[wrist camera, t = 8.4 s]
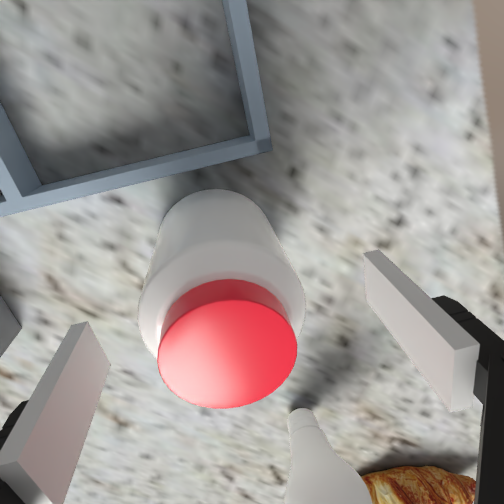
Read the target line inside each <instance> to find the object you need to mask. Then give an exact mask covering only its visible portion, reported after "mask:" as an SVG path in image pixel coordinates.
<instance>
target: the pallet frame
mask: <svg viewBox="0 0 504 504" xmlns="http://www.w3.org/2000/svg"><path fill="white" fill-rule="evenodd" d="M222 2H223V7H224V12H225V17H226V22H227V27H228V32H229V37H230V41H231V46H232V51H233V56H234V61H235V66H236V71H237V76H238V81H239V85H240V90H241V95H242V100H243V105H244V110H245V115H246V120H247V125H248V129H249V134H250V135H248V136H244V137H240V138H236V139H231V140H227V141H223V142H219V143H215V144H211V145H207V146H203V147H198V148H194V149H190V150H186V151H182V152H178V153H174V154H170V155H165V156H161V157H157V158H153V159H149V160H145V161H141V162H137V163H132V164H128V165H124V166H120V167H116V168H112V169H108V170H104V171H99V172H95V173H91V174H87V175H83V176H79V177H75V178H71V179H66V180H62V181H58V182H54V183H50V184H46V185H41V183H40V181H39V179H38V177H37V175H36V173H35V171H34V168H33V166H32V164H31V162H30V160H29V158H28V156H27V154H26V152H25V150H24V148H23V146H22V144H21V142H20V140H19V138H18V136H17V134H16V132H15V130H14V128H13V126H12V124H11V122H10V120H9V118H8V116H7V114H6V112H5V110H4V108H3V106H2V104H1V102H0V190H1V191H2V193H3V195H0V217H3V216H7V215H11V214H15V213H19V212H23V211H27V210H31V209H35V208H39V207H43V206H48V205H52V204H56V203H60V202H64V201H68V200H72V199H76V198H80V197H84V196H88V195H93V194H97V193H101V192H105V191H109V190H113V189H117V188H121V187H125V186H129V185H133V184H137V183H142V182H146V181H150V180H154V179H158V178H162V177H166V176H170V175H174V174H178V173H182V172H187V171H191V170H195V169H199V168H203V167H207V166H211V165H215V164H219V163H223V162H227V161H232V160H236V159H240V158H244V157H248V156H252V155H256V154H260V153H264V152H268V151H272V150H273V148H272V143H271V137H270V132H269V126H268V120H267V115H266V109H265V104H264V98H263V92H262V87H261V81H260V76H259V70H258V64H257V59H256V53H255V48H254V42H253V37H252V31H251V25H250V20H249V14H248V9H247V3H246V0H222Z"/></svg>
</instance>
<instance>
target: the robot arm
mask: <svg viewBox="0 0 504 504" xmlns="http://www.w3.org/2000/svg"><path fill="white" fill-rule="evenodd" d="M363 262H364V276H365V290H366V301H367V303H368V304H369V305H370V307H371V308H372V309H373V311H374V312H375V313H376V315H377V316H378V317H379V319H380V320H381V321H382V323H383V324H384V325H385V327H386V328H387V329H388V331H389V332H390V333H391V335H392V336H393V337H394V339H395V340H396V341H397V343H398V344H399V345H400V347H401V348H402V349H403V350H404V352H405V353H406V354H407V356H408V357H409V358H410V360H411V361H412V362H413V364H414V365H415V366H416V368H417V369H418V370H419V372H420V373H421V374H422V376H423V377H424V378H425V380H426V381H427V382H428V384H429V385H430V386H431V388H432V389H433V390H434V392H435V393H436V394H437V396H438V397H439V398H440V400H441V401H442V402H443V404H444V405H445V406H446V408H447V409H448V410H449V412H450V413H451V412H455V411H459V410H463V409H467V408H471V407H473V400H474V395H475V396H476V397H477V398H478V399H479V400H480V402H481V403H482V404H483V410H482V417H481V425H480V426H481V432H480V443H479V454H478V466H477V477H476V488H475V499H474V504H504V340H502V339H501V338H500V337H499V336H498V335H496V334H495V333H494V332H493V331H492V330H491V329H489V328H488V327H487V326H486V325H485V324H483V323H482V322H481V321H480V320H479V319H476V317H475V316H474V315H473V314H472V313H471V312H468V310H467V309H466V308H465V307H463V306H462V305H461V304H460V303H459V302H458V301H455V300H453V299H451V298H448V297H446V296H440V297H436V298H432V299H431V298H430V297H429V296H428V295H427V294H426V293H425V292H424V291H423V290H422V289H420V288H419V287H418V286H417V285H416V284H415V283H414V282H413V281H412V280H411V279H410V278H409V277H408V276H407V275H405V274H404V273H403V272H402V271H401V270H400V269H399V268H398V267H397V266H396V265H395V264H394V263H393V262H392V261H390V260H389V259H388V258H387V257H386V256H385V255H384V254H383V253H382V252H381V251H380V250H379V249H378V250H374V251H370V252H366V253H363ZM110 366H111V364H110V362H109V360H108V358H107V356H106V355H105V353H104V351H103V349H102V347H101V345H100V343H99V341H98V340H97V338H96V336H95V334H94V332H93V330H92V328H91V326H90V325H89V323H88V321H87V322H83V323H79V324H75V325H71V327H70V329H69V330H68V332H67V334H66V336H65V338H64V339H63V341H62V343H61V345H60V346H59V348H58V350H57V352H56V353H55V355H54V357H53V359H52V360H51V362H50V364H49V366H48V368H47V369H46V371H45V373H44V375H43V376H42V378H41V380H40V382H39V383H38V385H37V387H36V389H35V390H34V392H33V394H32V396H31V397H30V399H29V400H27V401H23V402H21V404H20V405H19V406H18V407H17V408H16V409H15V410H14V411H13V412H12V413H11V414H10V415H9V417H8V419H7V420H6V422H5V424H4V426H3V427H2V428H3V429H2V430H1V431H0V504H63V503H64V500H65V497H66V494H67V491H68V488H69V486H70V483H71V480H72V477H73V474H74V471H75V468H76V465H77V462H78V459H79V456H80V453H81V451H82V448H83V445H84V442H85V439H86V436H87V433H88V430H89V427H90V424H91V421H92V419H93V416H94V413H95V410H96V407H97V404H98V401H99V398H100V395H101V392H102V389H103V386H104V384H105V381H106V378H107V375H108V372H109V369H110Z"/></svg>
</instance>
